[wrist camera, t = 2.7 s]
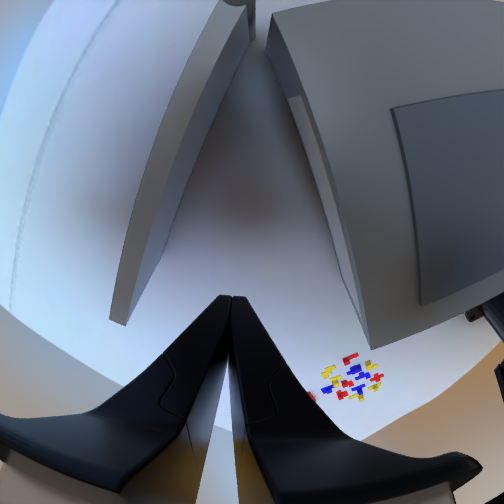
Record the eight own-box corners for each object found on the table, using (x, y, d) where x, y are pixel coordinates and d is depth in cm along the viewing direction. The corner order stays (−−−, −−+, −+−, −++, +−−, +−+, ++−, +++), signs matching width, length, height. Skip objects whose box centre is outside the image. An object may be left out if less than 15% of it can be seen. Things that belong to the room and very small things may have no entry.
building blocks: (386, 383, 24) (391, 396, 22) (306, 412, 25) (308, 426, 24) (372, 342, 21) (378, 357, 20) (278, 378, 23) (279, 394, 21)
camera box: (492, 223, 16) (553, 273, 10) (341, 280, 18) (374, 362, 12) (451, 5, 9) (526, -15, 3) (257, 32, 12) (258, -21, 6)
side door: (162, 259, 17) (127, 327, 12) (140, 250, 17) (98, 314, 12) (258, 30, 11) (261, -14, 6) (231, 21, 11) (217, -27, 6)
